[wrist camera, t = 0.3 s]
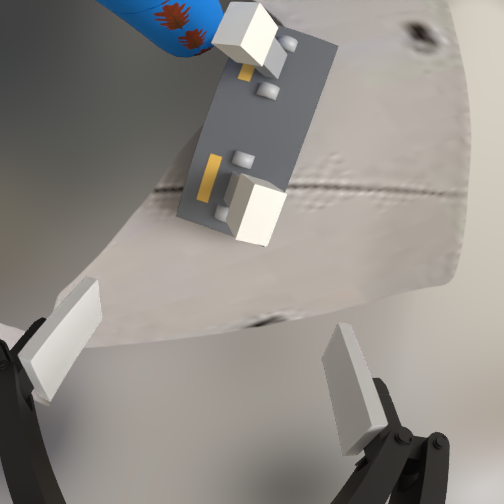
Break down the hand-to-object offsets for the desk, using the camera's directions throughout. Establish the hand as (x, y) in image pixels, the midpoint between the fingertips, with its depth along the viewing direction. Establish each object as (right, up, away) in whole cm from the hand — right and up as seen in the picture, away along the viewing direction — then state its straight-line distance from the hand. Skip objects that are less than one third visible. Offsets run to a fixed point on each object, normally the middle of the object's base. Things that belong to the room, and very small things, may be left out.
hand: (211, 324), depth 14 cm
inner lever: (+5, +26, +14) cm, 30 cm away
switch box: (+3, +21, +22) cm, 31 cm away
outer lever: (0, +12, +20) cm, 23 cm away
